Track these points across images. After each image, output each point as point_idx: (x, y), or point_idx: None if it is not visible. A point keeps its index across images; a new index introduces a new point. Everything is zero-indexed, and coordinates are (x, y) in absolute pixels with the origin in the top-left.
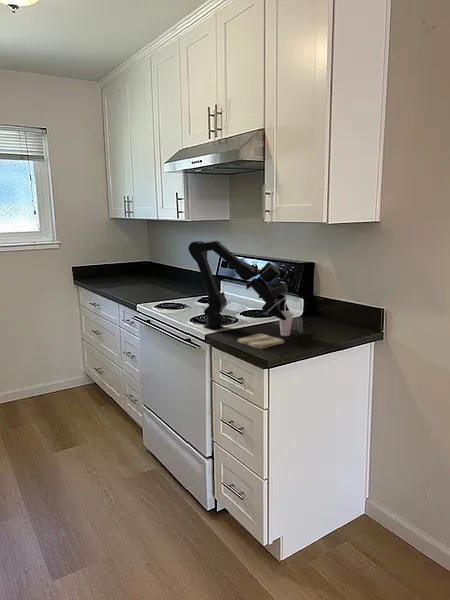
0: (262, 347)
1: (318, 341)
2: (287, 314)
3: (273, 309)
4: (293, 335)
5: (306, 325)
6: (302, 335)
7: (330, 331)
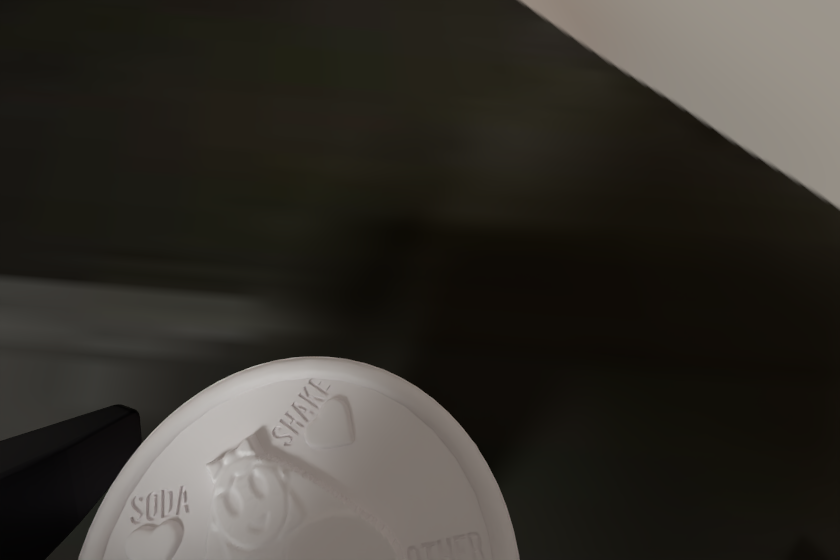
0: None
1: (599, 188)
2: (516, 547)
3: None
4: None
5: (6, 242)
6: (397, 313)
7: (254, 76)
